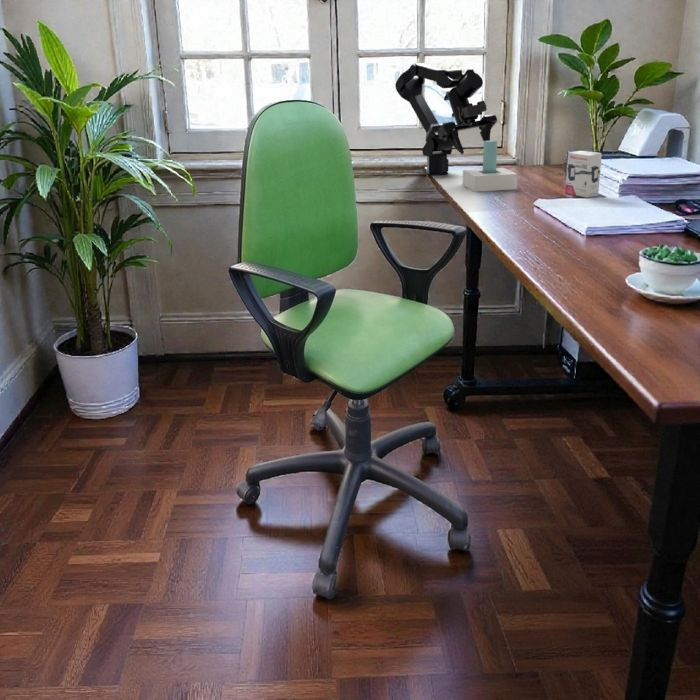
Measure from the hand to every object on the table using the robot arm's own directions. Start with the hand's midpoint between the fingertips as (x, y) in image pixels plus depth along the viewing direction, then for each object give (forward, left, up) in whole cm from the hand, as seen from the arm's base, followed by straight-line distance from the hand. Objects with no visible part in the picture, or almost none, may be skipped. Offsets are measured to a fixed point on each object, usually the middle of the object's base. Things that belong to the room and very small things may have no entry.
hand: (475, 151), depth 238 cm
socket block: (+1, -10, -10) cm, 14 cm away
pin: (+1, -10, -8) cm, 13 cm away
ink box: (+22, -30, -10) cm, 39 cm away
